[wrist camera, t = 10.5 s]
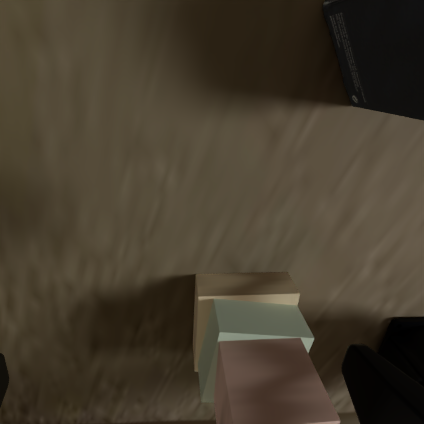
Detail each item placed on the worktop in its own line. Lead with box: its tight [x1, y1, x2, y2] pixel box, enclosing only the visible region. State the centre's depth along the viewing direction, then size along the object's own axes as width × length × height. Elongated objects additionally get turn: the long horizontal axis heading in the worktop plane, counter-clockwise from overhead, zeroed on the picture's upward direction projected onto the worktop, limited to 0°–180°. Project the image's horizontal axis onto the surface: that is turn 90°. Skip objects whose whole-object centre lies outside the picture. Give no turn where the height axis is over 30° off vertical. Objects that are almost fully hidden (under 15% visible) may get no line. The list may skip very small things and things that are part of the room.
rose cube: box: [214, 338, 340, 424], centre depth 17 cm, size 5×5×5 cm
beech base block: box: [193, 272, 300, 372], centre depth 24 cm, size 7×7×3 cm
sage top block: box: [198, 299, 315, 403], centre depth 21 cm, size 6×6×3 cm
